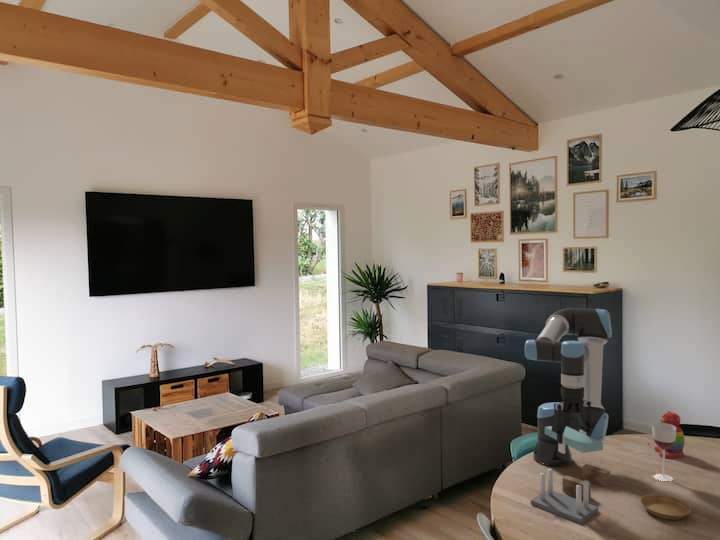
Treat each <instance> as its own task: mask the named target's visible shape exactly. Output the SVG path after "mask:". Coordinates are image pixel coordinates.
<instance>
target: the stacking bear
mask: <svg viewBox="0 0 720 540" xmlns="http://www.w3.org/2000/svg"><path fill="white" fill-rule="evenodd" d="M660 423H667V424H671V425H674V426H675V427H676V439H675V442H674V445H673V446H672V447H670V448H667V449H665V459H671V460H672V458H674V459H681V458H683V457H684V456H685V455H684V447H685V442H686V441H685V435H684V432H683V429H682V427H680V425H681V417H680V416H679V415H678V414H677V413H675V412H672V411H669V410H668V411H667V412H665V413H664V414H663V415H662V416H661V417H660ZM654 451H655V452H657V453H659V456H660V457H661V458H663V449H662V448H661V447H659V446H658V445H656V446H654Z"/></svg>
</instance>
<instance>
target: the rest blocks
mask: <svg viewBox="0 0 720 540" xmlns="http://www.w3.org/2000/svg"><path fill="white" fill-rule="evenodd" d="M610 475H611V473H610V470H607V469H605V468H601V467H598V466H595V465H591V464H587V463H586V464H584V465H582V477H581V478H582V480H581V479H579V478H576V477H572V476H570V475H565V476H563V477H562V492H563V491H565V492H564V493H566V492H567V493H566V494H569V493H570V494H569V495H571V494H572V496H574V495H575V497H576V485H581V499H583V492H584V480H587V481H589V499H590V498H591V496H592V495H591V491H592V490H591V485H592V484H591V483H594V484H597V485H599V486H603V487H605V488H606V487H608V486H610V485H611V484H610V483H611V482H610V481H611V480H610V479H611V476H610Z"/></svg>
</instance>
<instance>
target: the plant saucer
mask: <svg viewBox="0 0 720 540" xmlns="http://www.w3.org/2000/svg"><path fill="white" fill-rule="evenodd" d="M639 502H640V504H641V505H642V506H643V508H645V510H646V511H647V512H648V513H650V514H651V515H653V516H655V517H657V518H661V519H664V520H669V521H671V520H673V521H676V520H681V519H684V518H686V516H688V515H689V514H691V512H692V511H691V510H692V509H691V507H690V506H689V505H688V504H687V503H686V502H684V501H682V500H680V499H678V498H675V497H672V496H667V495H661V494H648V495H647V494H646V495H643V496H642V497H641V498H640V499H639Z"/></svg>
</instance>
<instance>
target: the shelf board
mask: <svg viewBox="0 0 720 540" xmlns="http://www.w3.org/2000/svg"><path fill="white" fill-rule="evenodd" d="M545 434H546V435H548V436H550V437H552V438H554V439H556V440H557V433H555V432H553V431H552V426H549V427H545ZM563 434H565V444H566V445H568V446H569V448H572V449H574V450H576V451H578V452H580V453H582V454H586V453H592V452H600V451H604V450H603V448H604V443H603V441H602V442H600V441H598V440H596V439H594V438H591V437H589V436H587V435H585V434H582V433H580V432H578V431H576V430H574V429H572V428H569V427H567V426H566V428H565V430H564V433H563Z"/></svg>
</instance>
